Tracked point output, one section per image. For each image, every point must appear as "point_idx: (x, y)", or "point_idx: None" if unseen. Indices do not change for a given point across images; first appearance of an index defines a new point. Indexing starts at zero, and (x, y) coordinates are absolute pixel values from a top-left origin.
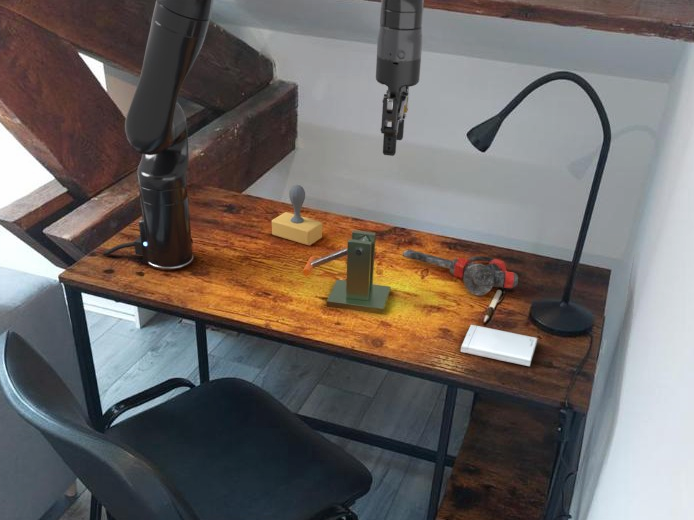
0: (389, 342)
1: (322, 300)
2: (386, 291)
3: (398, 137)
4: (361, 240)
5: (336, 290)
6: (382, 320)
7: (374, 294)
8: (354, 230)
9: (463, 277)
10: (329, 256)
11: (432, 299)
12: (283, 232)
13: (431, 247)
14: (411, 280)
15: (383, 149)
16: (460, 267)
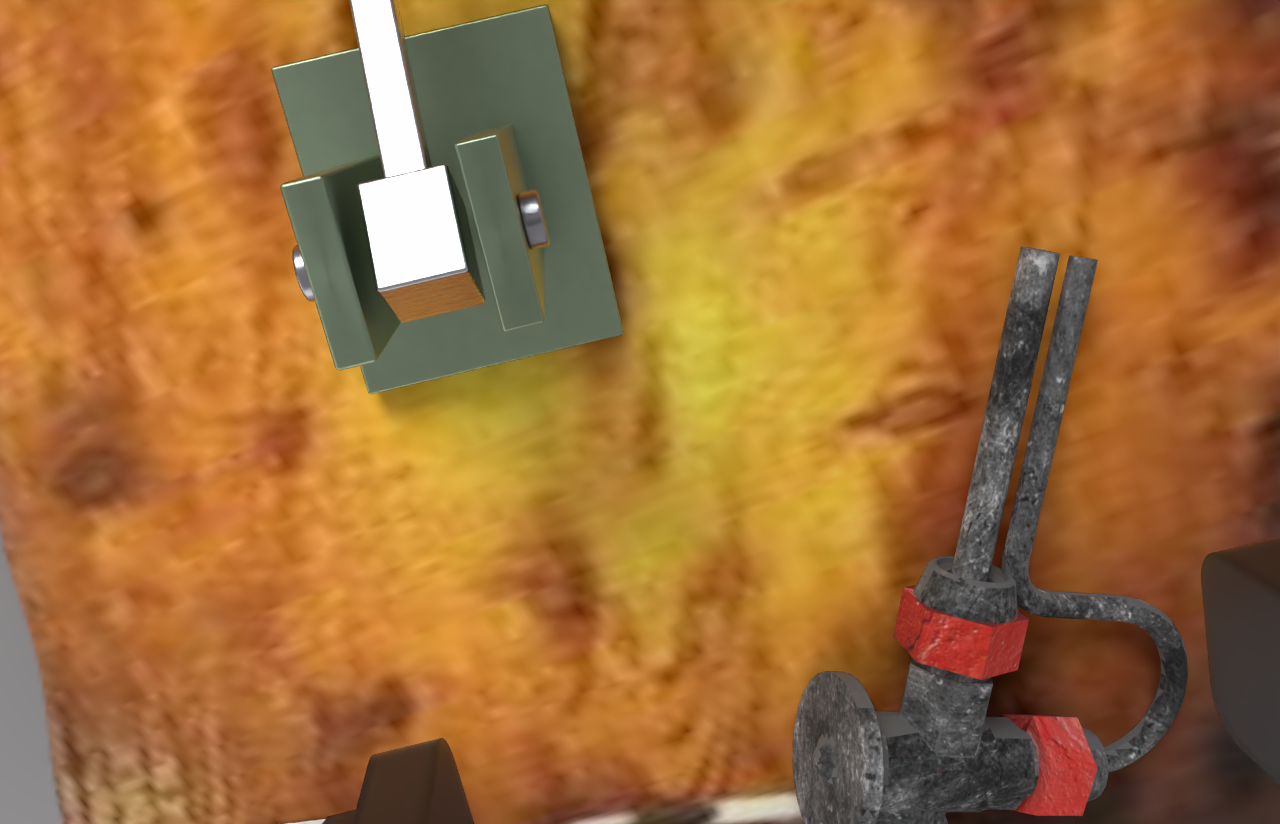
0: (136, 525)
1: (327, 14)
2: (556, 336)
3: (1233, 687)
4: (383, 265)
5: (417, 65)
6: (313, 411)
7: (489, 290)
8: (496, 147)
9: (839, 678)
10: (353, 2)
11: (653, 551)
12: None
13: (1246, 329)
14: (803, 379)
15: (368, 797)
16: (919, 644)
